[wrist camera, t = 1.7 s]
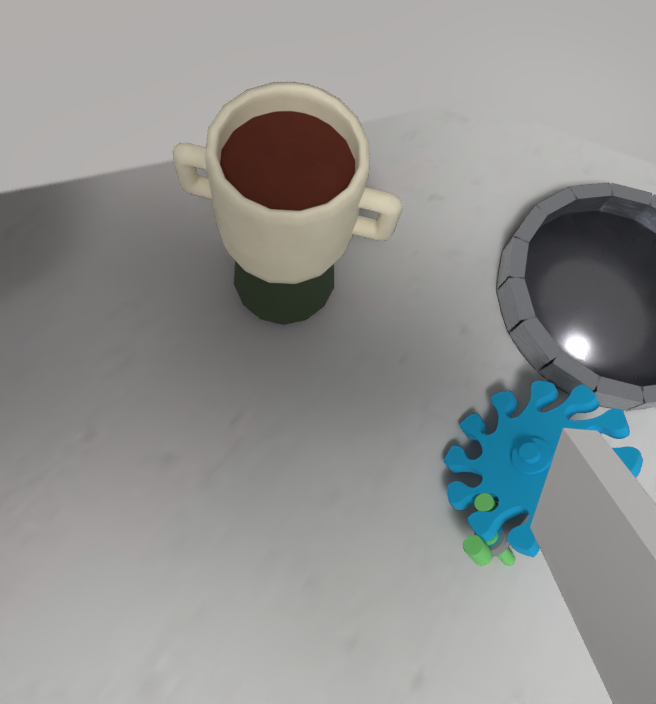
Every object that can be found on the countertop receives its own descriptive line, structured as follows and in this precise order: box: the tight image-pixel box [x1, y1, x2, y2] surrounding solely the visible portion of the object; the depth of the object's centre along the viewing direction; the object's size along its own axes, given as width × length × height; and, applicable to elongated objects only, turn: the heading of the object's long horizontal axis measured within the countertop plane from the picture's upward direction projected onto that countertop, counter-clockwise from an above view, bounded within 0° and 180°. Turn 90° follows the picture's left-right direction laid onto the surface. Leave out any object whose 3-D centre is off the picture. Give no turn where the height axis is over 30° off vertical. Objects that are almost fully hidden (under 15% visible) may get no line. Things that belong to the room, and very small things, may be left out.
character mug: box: [173, 82, 402, 324], centre depth 30 cm, size 11×7×13 cm, turn 77°
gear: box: [444, 381, 643, 566], centre depth 31 cm, size 11×6×10 cm
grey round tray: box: [497, 183, 656, 411], centre depth 37 cm, size 15×15×2 cm
